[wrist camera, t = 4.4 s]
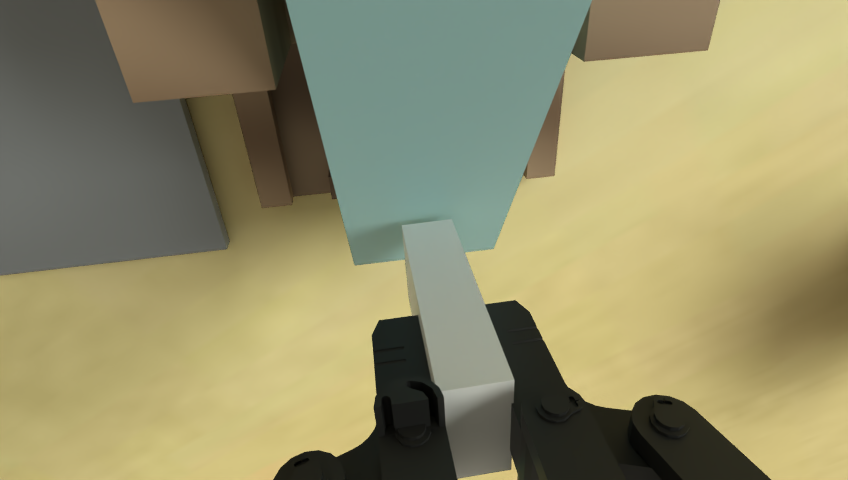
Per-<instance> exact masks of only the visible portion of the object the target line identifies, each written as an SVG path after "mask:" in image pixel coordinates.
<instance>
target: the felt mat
mask: <svg viewBox="0 0 848 480" xmlns="http://www.w3.org/2000/svg"><path fill="white" fill-rule="evenodd" d="M229 242H230V241H229V238H228V235H227V231H226V228H225V225H224V222H223V219H222V215H221V212H220V209H219V206H218V203H217V199H216V196H215V193H214V190H213V187H212V183H211V180H210V177H209V174H208V171H207V167H206V164H205V161H204V158H203V155H202V151H201V148H200V145H199V142H198V139H197V135H196V132H195V129H194V126H193V123H192V119H191V116H190V113H189V110H188V107H187V103H186V100H185V98H181V99H170V100H159V101H148V102H137V103H133V101H132V98H131V96H130V93H129V90H128V88H127V85H126V82H125V80H124V77H123V74H122V71H121V69H120V66H119V63H118V61H117V58H116V55H115V53H114V50H113V47H112V44H111V42H110V39H109V36H108V34H107V31H106V28H105V26H104V23H103V20H102V17H101V15H100V12H99V9H98V7H97V4H96V1H95V0H0V275H8V274H17V273H25V272H34V271H43V270H51V269H60V268H68V267H77V266H86V265H94V264H103V263H112V262H120V261H129V260H138V259H146V258H155V257H163V256H172V255H181V254H189V253H198V252H207V251H215V250H224V249H227V248H228V245H229Z"/></svg>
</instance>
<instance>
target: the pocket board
mask: <svg viewBox="0 0 848 480" xmlns="http://www.w3.org/2000/svg"><path fill="white" fill-rule="evenodd" d="M95 1H96V4H97V7H98V9H99V12H100V15H101V17H102V20H103V23H104V26H105V28H106V31H107V34H108V36H109V39H110V42H111V44H112V47H113V50H114V53H115V55H116V58H117V61H118V63H119V66H120V69H121V71H122V74H123V77H124V80H125V82H126V85H127V88H128V90H129V93H130V96H131V98H132V101H133V103H137V102H148V101H159V100H170V99H181V98H192V97H203V96H214V95H225V94H232V95H233V98H234V102H235V106H236V110H237V114H238V118H239V121H240V125H241V129H242V133H243V137H244V141H245V145H246V148H247V152H248V156H249V160H250V164H251V168H252V172H253V175H254V179H255V183H256V187H257V191H258V195H259V198H260V202H261V206H262V208H267V207H276V206H285V205H292V203H293V197H294V196H302V195H311V194H321V193H330V192H331V195H332V199H337V196H336V192H335V188H334V184H333V180H332V176H331V173H330V169H329V165H328V161H327V157H326V153H325V150H324V146H323V142H322V138H321V134H320V130H319V127H318V123H317V119H316V115H315V111H314V107H313V104H312V100H311V96H310V92H309V88H308V84H307V80H306V77H305V73H304V69H303V65H302V61H301V57H300V54H299V50H298V46H297V42H296V38H295V34H294V31H293V27H292V23H291V19H290V15H289V11H288V8H287V4H286V0H95ZM719 3H720V0H592V2H591V5H590V7H589V10H588V12H587V15H586V17H585V20H584V22H583V25H582V27H581V30H580V32H579V35H578V37H577V40H576V42H575V45H574V47H573V50H572V52H571V53H572V54H574V55H575V56H577V57H578V58H580V59H581V60H583V61H584V62H585V61H596V60H607V59H618V58H629V57H640V56H651V55H662V54H672V53H683V52H694V51H705V50H708V48H709V44H710V39H711V35H712V31H713V27H714V23H715V19H716V15H717V11H718V7H719ZM564 73H565V70H564V72H563V75H562V78H561V80H560V83H559V85H558V88H557V90H556V93H555V95H554V98H553V100H552V103H551V105H550V108H549V110H548V113H547V115H546V118H545V120H544V123H543V125H542V128H541V130H540V133H539V135H538V138H537V140H536V143H535V145H534V148H533V151H532V153H531V156H530V158H529V161H528V163H527V166H526V168H525V171H524V173H523V174H524V176H525V177H526V179H531V178H540V177H549V176H554V175H555V165H556V154H557V144H558V134H559V124H560V114H561V103H562V93H563V83H564Z"/></svg>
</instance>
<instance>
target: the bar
mask: <svg viewBox="0 0 848 480" xmlns="http://www.w3.org/2000/svg"><path fill="white" fill-rule="evenodd" d="M591 2H592V0H286V4H287V8H288V11H289V15H290V19H291V23H292V27H293V31H294V34H295V38H296V42H297V46H298V50H299V54H300V57H301V61H302V65H303V69H304V73H305V77H306V80H307V84H308V88H309V92H310V96H311V100H312V104H313V107H314V111H315V115H316V119H317V123H318V127H319V130H320V134H321V138H322V142H323V146H324V150H325V153H326V157H327V161H328V165H329V169H330V173H331V176H332V180H333V184H334V188H335V192H336V196H337V200H338V203H339V207H340V211H341V215H342V219H343V223H344V226H345V230H346V234H347V238H348V242H349V246H350V249H351V253H352V257H353V261H354V265H363V264H371V263H379V262H388V261H396V260H404V259H405V254H404V244H403V234H402V225H408V224H416V223H424V222H432V221H440V220H448V219H452V221H453V224H454V227H455V229H456V232H457V234H458V237H459V239H460V242H461V244H462V247H463V250H464V252H471V251H480V250H488V249H494V246H495V244H496V241H497V239H498V236H499V234H500V231H501V229H502V226H503V224H504V221H505V218H506V216H507V213H508V211H509V208H510V206H511V203H512V201H513V198H514V196H515V193H516V191H517V188H518V186H519V183H520V181H521V178H522V176H523V173H524V171H525V168H526V166H527V163H528V161H529V158H530V156H531V153H532V151H533V148H534V145H535V143H536V140H537V138H538V135H539V133H540V130H541V128H542V125H543V123H544V120H545V118H546V115H547V113H548V110H549V108H550V105H551V103H552V100H553V98H554V95H555V93H556V90H557V88H558V85H559V83H560V80H561V78H562V75H563V72H564V70H565V67H566V65H567V62H568V60H569V57H570V55H571V52H572V50H573V47H574V45H575V42H576V40H577V37H578V35H579V32H580V30H581V27H582V25H583V22H584V20H585V17H586V15H587V12H588V10H589V7H590V5H591Z"/></svg>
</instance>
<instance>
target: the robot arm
mask: <svg viewBox="0 0 848 480" xmlns="http://www.w3.org/2000/svg"><path fill="white" fill-rule="evenodd" d="M402 234H403V244H404V254H405V265H406V275H407V285H408V295H409V302H410V307H411V313H412V316H408V317H401V318H393V319H386V320H379V322H378V324H377V326H376V328H375V330H374V332H373V334H372V342H373V355H374V366H375V367H374V368H375V380H376V393H377V395H376V397H375V403H374V413H375V419H376V427H375V429H374V431H373V432H372V434H371V435H370V436H369V438H368V439H366V440H365V441H364V442H363V443H362V444H361V445H359V446H357V447H356V448H354V449H352V450H350V451H348V452H346V453H344V454H342V455H340V456H338V457H335V456H334V455H332V454H331V453H327V452H323V451H319V450H317V451H309V452H304V453H302V454H299V455H297V456H295V457H293V458H291V459H290V460H289V461H288V462H287V463H285V464H284V465H283V466H282V467H281V468H280V469H279V471H278V473H277V474H276V476H275V478H274V479H273V480H457V479H458V478H464V477H470V476H476V475H481V474H487V473H493V472H499V471H505V470H511V459H512V458H513V461H514V464H515V467H516V470H517V473H518V480H771V479H770V478H769V477H768V476H767V475H765V474H764V473H763V472H762V471H761V470H760V469H759V468H758V467H757V466H756V465H755V464H754V463H752V462H751V461H750V460H749V459H748V458H747V457H746V456H745V455H744V454H743V453H742V452H740V451H739V450H738V449H737V448H736V447H735V446H734V445H733V444H732V443H731V442H730V441H729V440H727V439H726V438H725V437H724V436H723V435H722V434H721V433H720V432H719V431H718V430H717V429H715V428H714V427H713V426H712V425H711V424H710V423H709V422H708V421H707V420H706V419H705V418H704V417H702V416H701V415H700V414H699V413H698V412H697V411H696V410H695V409H693V408H692V407H690V406H689V405H687V404H686V403H685V402H683V401H680V400H678V399H675V398H672V397H670V396H662V395H652V396H647V397H643V398H642V399H640V400H639V401H638V402H636V403H635V405H634V407H633V410H632V411H629V410H621V409H612V408H605V407H600V406H595V405H593V404H590V403H588V402H585V401H584V400H583V398H582V397H581V396H580V395H579V394H578V393H576V392H575V391H573V390H572V389H570V388H568V387H567V385H566V384H565V382H564V380H563V378H562V376H561V374H560V372H559V370H558V368H557V366H556V364H555V362H554V360H553V358H552V356H551V354H550V352H549V350H548V348H547V346H546V344H545V342H544V341H543V340H542V336H541V334H540V332H539V330H538V329H537V327H536V324H535V322H534V320H533V318H532V316H531V314H530V312H529V311H528V310H527V309H525V308H524V307H523V306H522V305H520V304H519V303H518V302H517V301H515V300H514V301H507V302H499V303H492V304H485V303H484V301H483V298H482V296H481V293H480V291H479V288H478V285H477V283H476V280H475V278H474V275H473V273H472V270H471V268H470V265H469V262H468V260H467V257H466V255H465V252H464V250H463V247H462V244H461V242H460V239H459V237H458V234H457V232H456V229H455V227H454V224H453V221H452V219H448V220H440V221H432V222H424V223H416V224H408V225H402Z"/></svg>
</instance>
